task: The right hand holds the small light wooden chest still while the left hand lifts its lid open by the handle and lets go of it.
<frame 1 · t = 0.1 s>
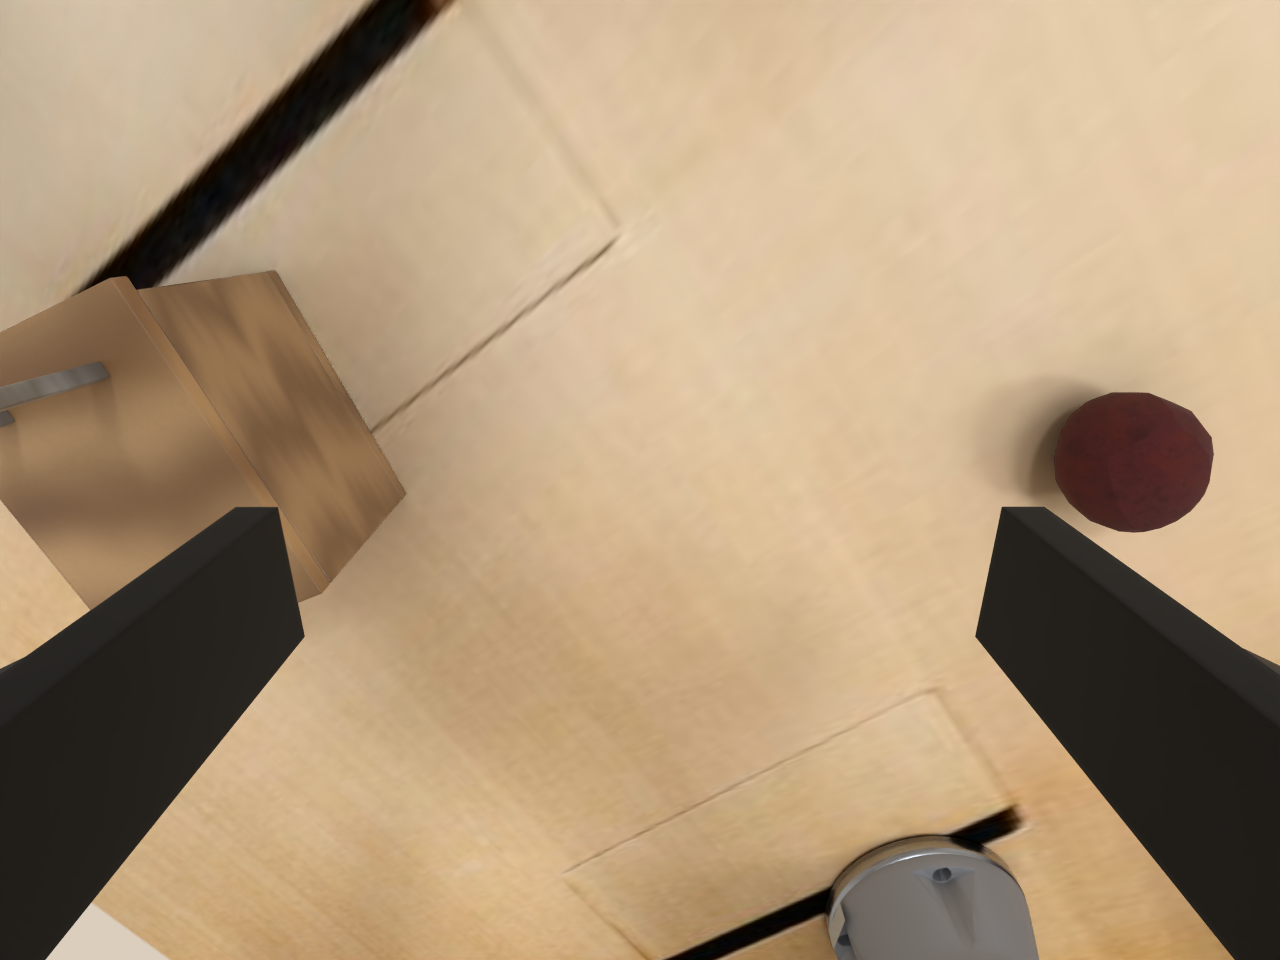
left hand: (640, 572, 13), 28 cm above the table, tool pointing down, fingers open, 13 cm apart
lid: (58, 528, 26), point 16 cm above the table, hinge at 0.0°
chest: (270, 421, 41), on the table
dark red ball: (1088, 439, 41), on the table
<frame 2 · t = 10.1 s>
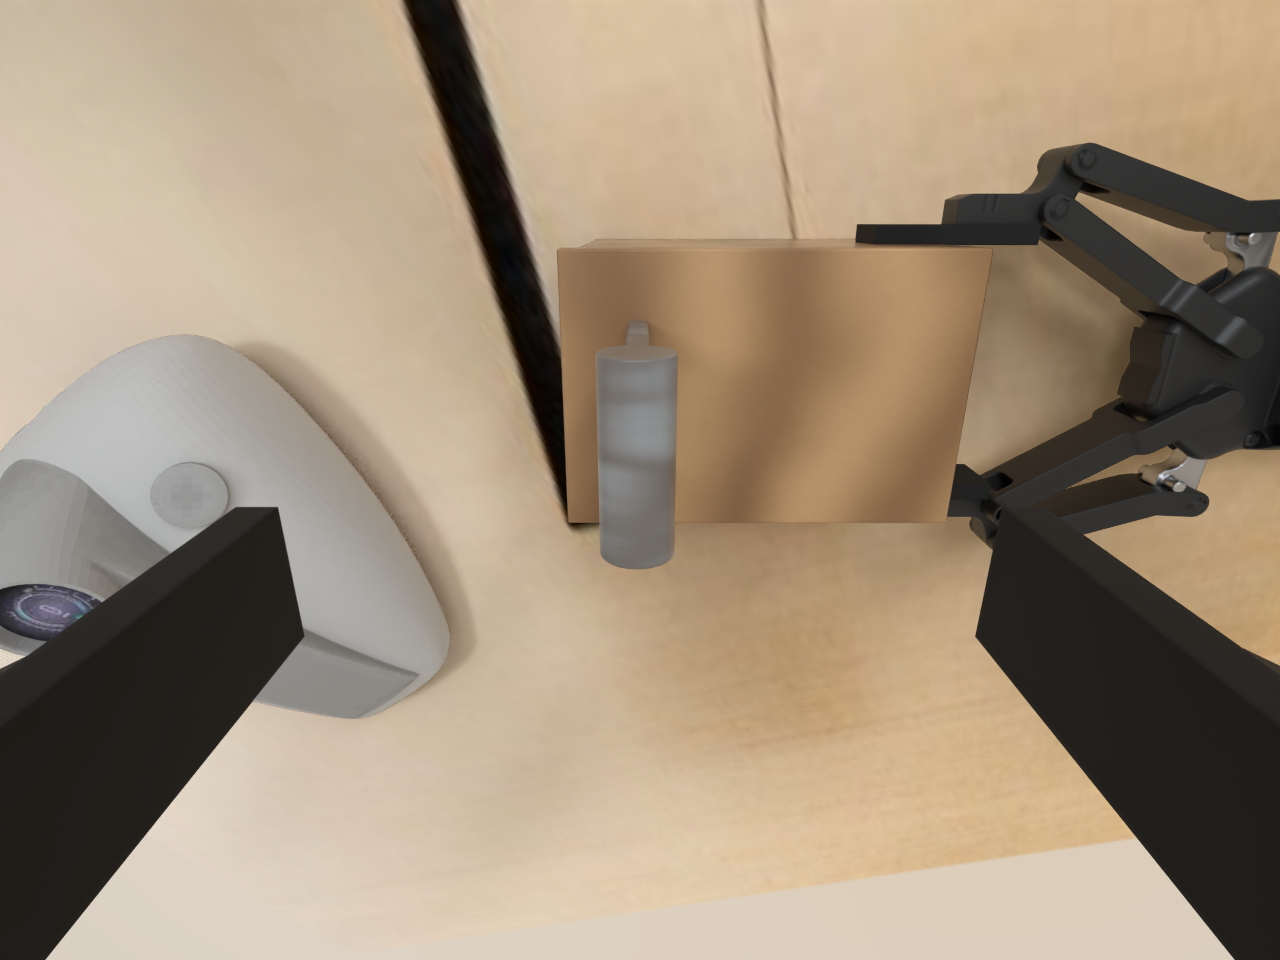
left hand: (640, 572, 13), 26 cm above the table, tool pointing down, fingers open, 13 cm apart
right hand: (850, 365, 30), fingers closed on chest, 10 cm apart
projector: (291, 533, 41), on the table
lid: (784, 422, 22), point 16 cm above the table, hinge at 0.0°
chest: (732, 341, 36), on the table, touching right hand
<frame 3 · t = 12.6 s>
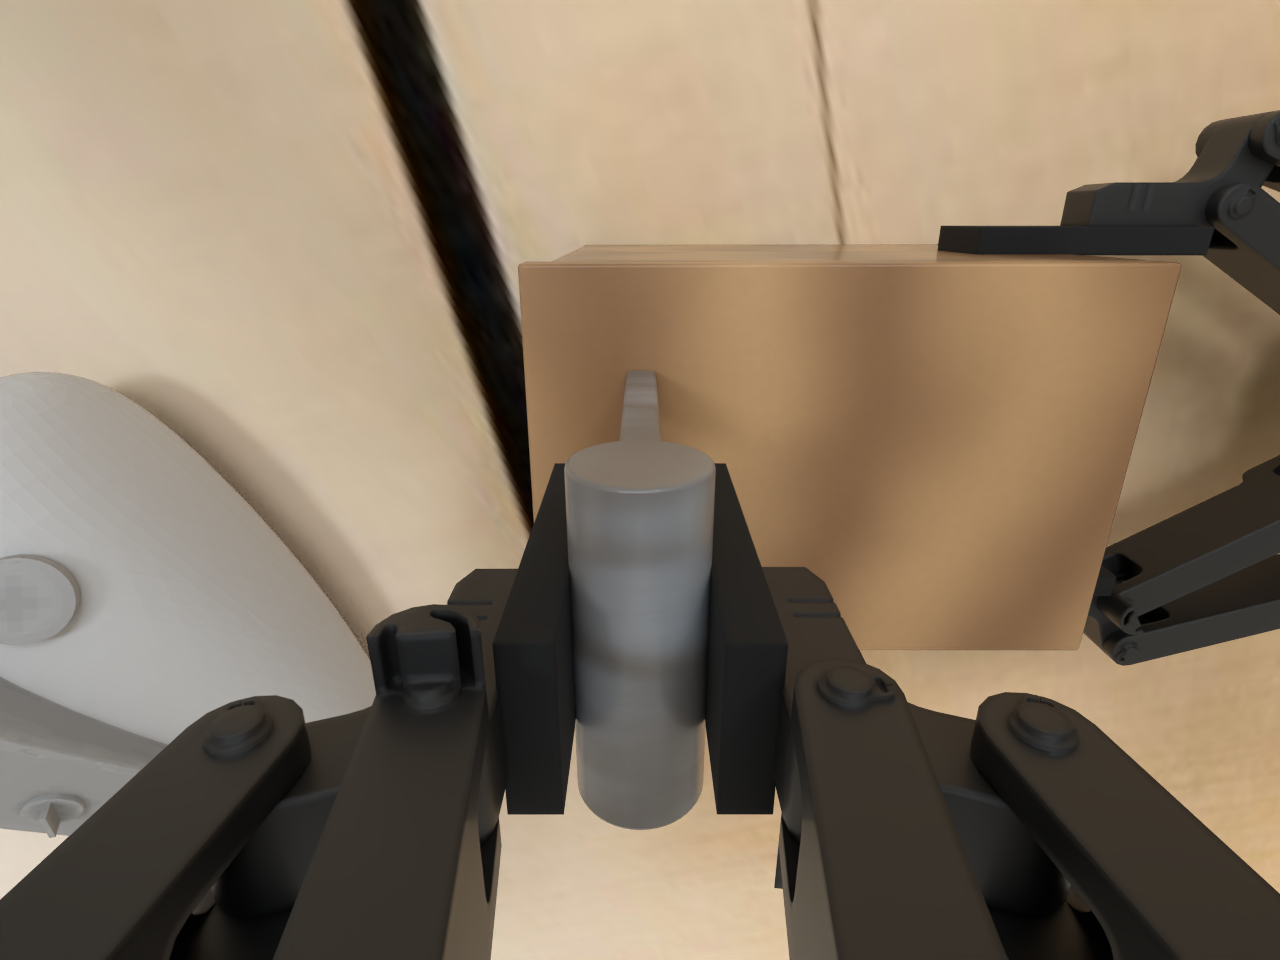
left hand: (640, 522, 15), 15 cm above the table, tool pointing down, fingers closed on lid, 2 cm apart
right hand: (929, 418, 22), fingers closed on chest, 10 cm apart
projector: (207, 610, 33), on the table
lid: (872, 540, 14), point 16 cm above the table, hinge at -0.1°, touching left hand
chest: (761, 375, 28), on the table, touching right hand
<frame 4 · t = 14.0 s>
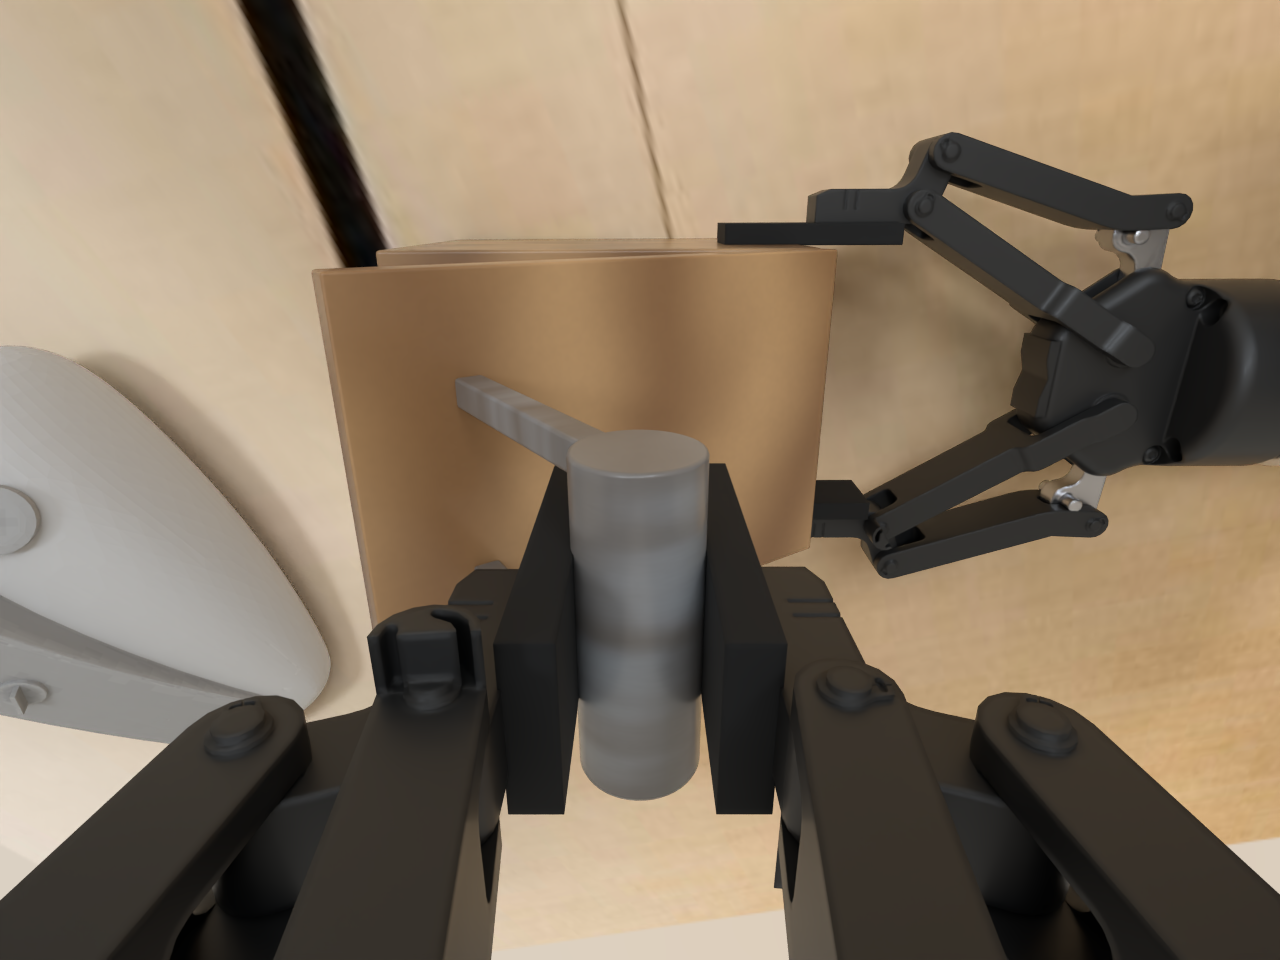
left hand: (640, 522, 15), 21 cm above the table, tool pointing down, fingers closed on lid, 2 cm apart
right hand: (715, 376, 28), fingers closed on chest, 10 cm apart
projector: (160, 552, 38), on the table
lid: (722, 491, 16), point 19 cm above the table, hinge at 33.8°, touching left hand
chest: (612, 348, 34), on the table, touching right hand
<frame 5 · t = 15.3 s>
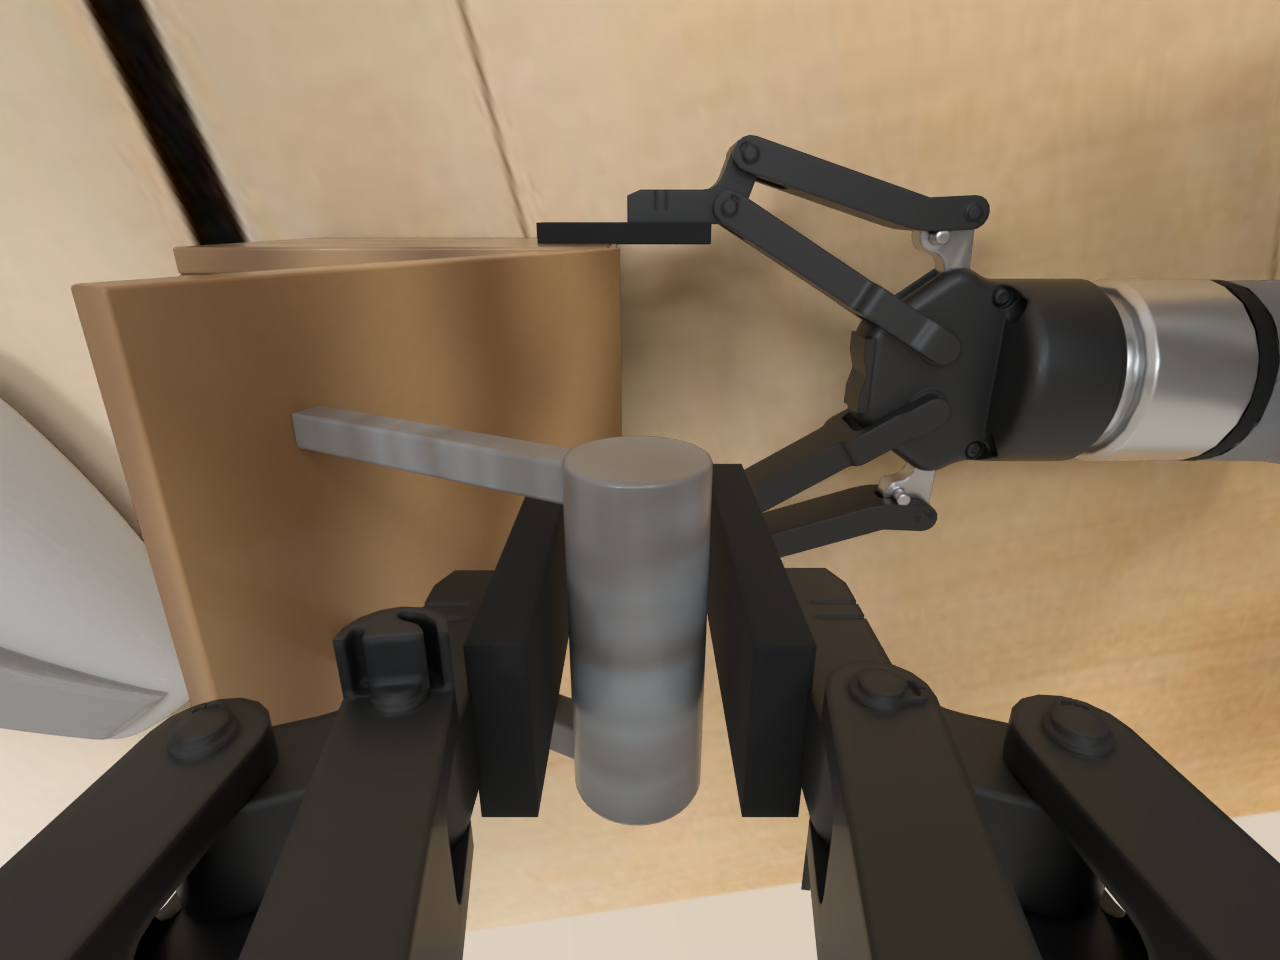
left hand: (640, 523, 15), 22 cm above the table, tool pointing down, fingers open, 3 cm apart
right hand: (548, 372, 29), fingers closed on chest, 10 cm apart
projector: (42, 545, 39), on the table
lid: (601, 493, 16), point 20 cm above the table, hinge at 62.0°
chest: (475, 345, 35), on the table, touching right hand
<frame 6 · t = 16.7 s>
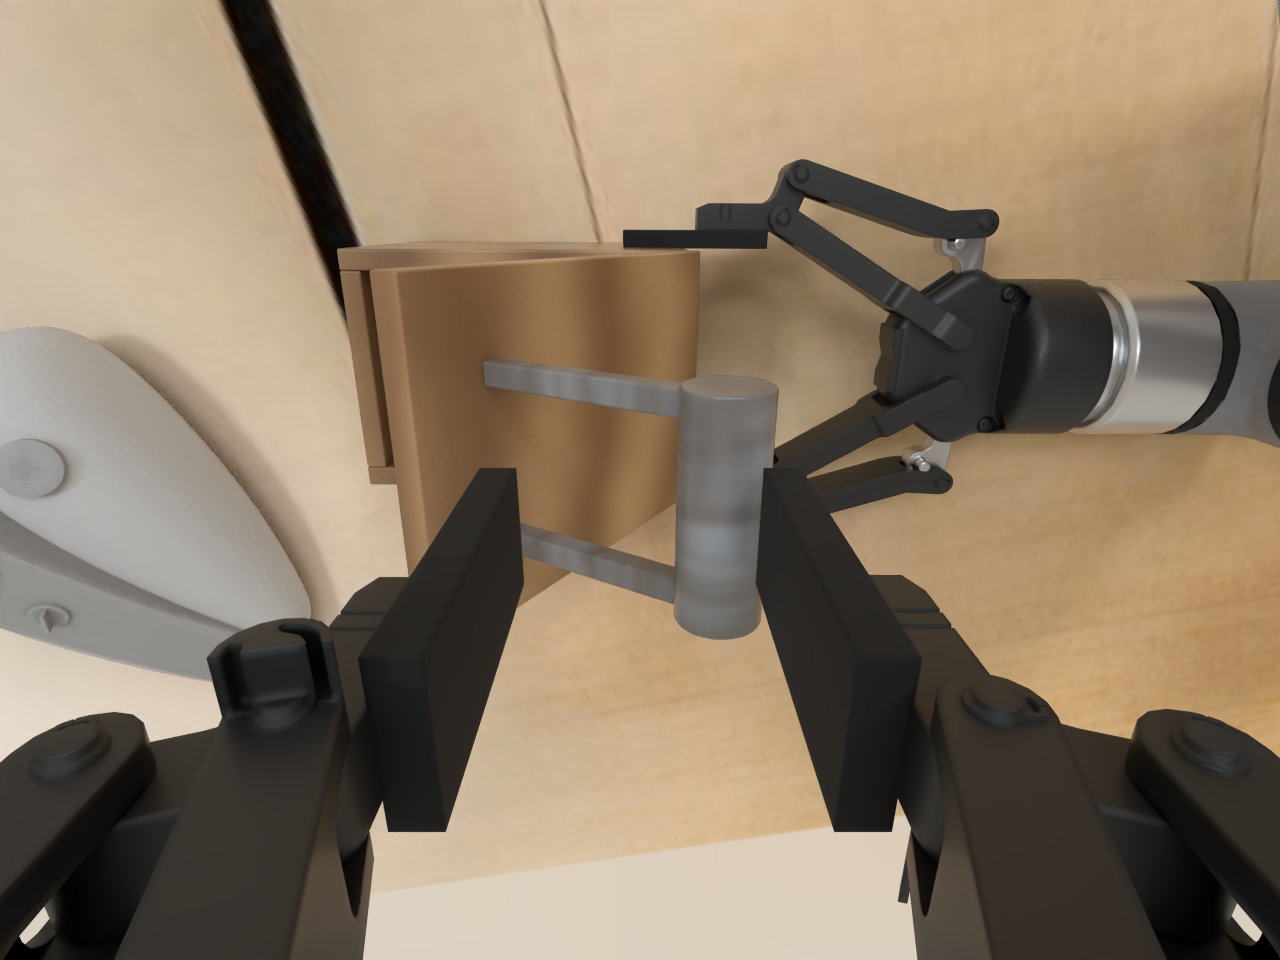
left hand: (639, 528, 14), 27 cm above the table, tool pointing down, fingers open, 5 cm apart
right hand: (624, 356, 34), fingers closed on chest, 10 cm apart
projector: (164, 510, 44), on the table
lid: (687, 435, 21), point 20 cm above the table, hinge at 58.0°
chest: (550, 335, 40), on the table, touching right hand
when the right hand's fingers open (6 cm above the table, at t = 19.4 s): chest stays where it is, on the table.
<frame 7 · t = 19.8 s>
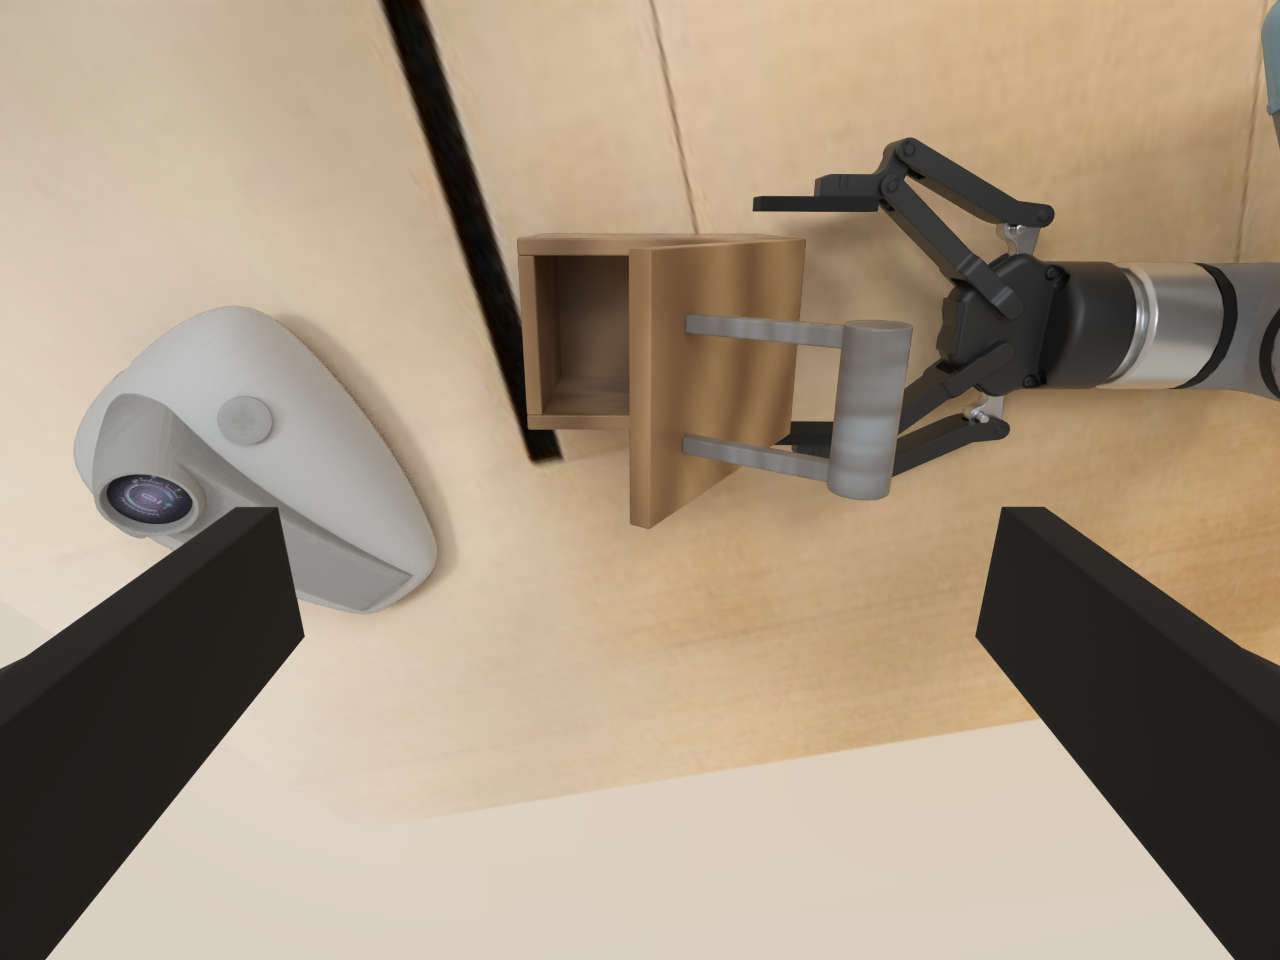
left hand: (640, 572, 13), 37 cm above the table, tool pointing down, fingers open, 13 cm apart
right hand: (748, 325, 41), fingers open, 13 cm apart
projector: (312, 466, 52), on the table
lid: (815, 374, 29), point 20 cm above the table, hinge at 57.6°
chest: (652, 312, 47), on the table
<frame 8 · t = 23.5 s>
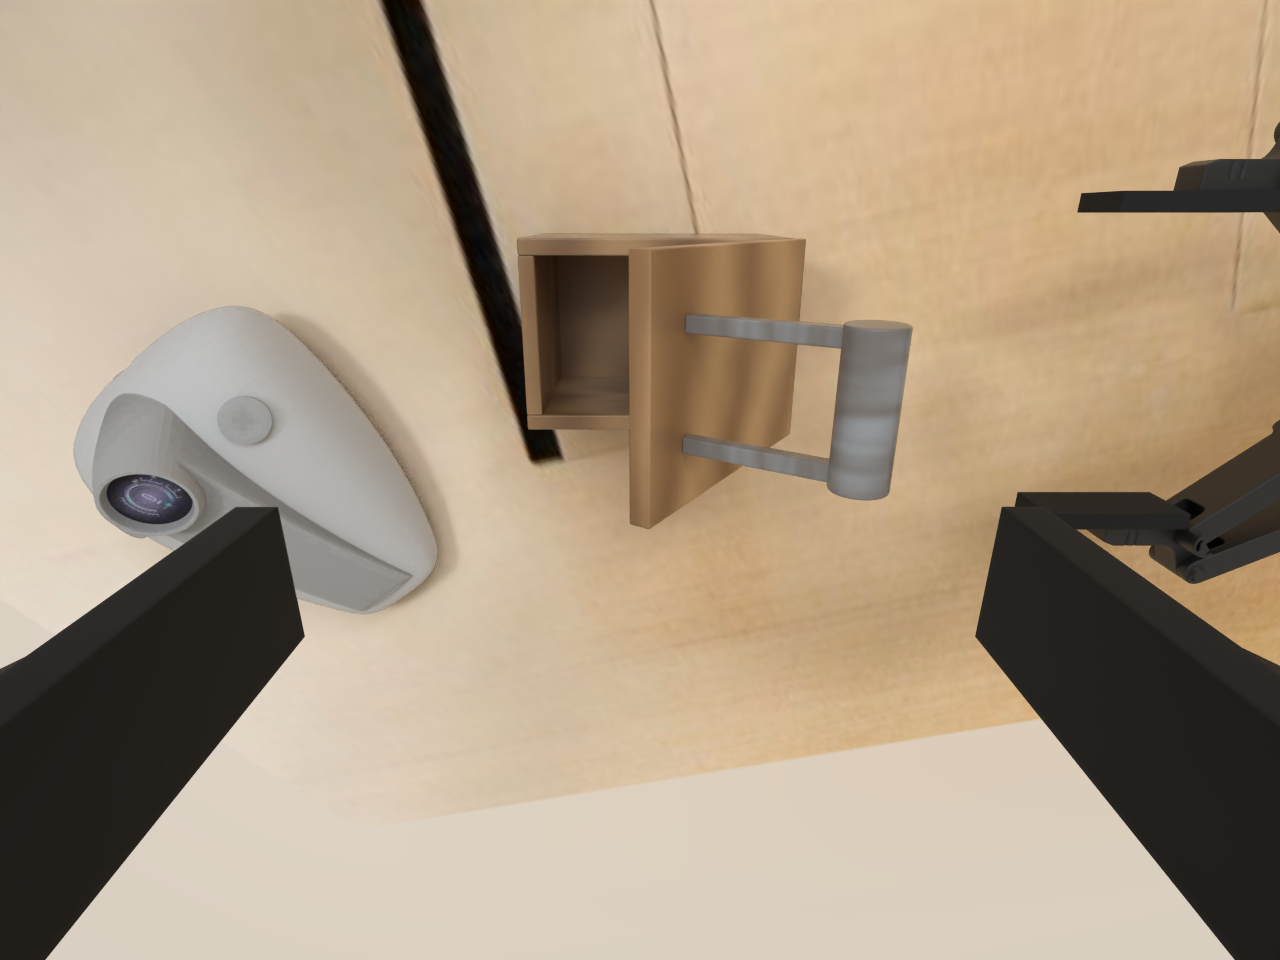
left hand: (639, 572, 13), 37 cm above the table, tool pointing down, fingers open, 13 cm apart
projector: (312, 466, 52), on the table
lid: (815, 374, 29), point 20 cm above the table, hinge at 57.6°
chest: (652, 312, 47), on the table
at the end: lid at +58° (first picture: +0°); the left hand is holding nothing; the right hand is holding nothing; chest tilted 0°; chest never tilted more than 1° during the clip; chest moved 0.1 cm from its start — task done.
